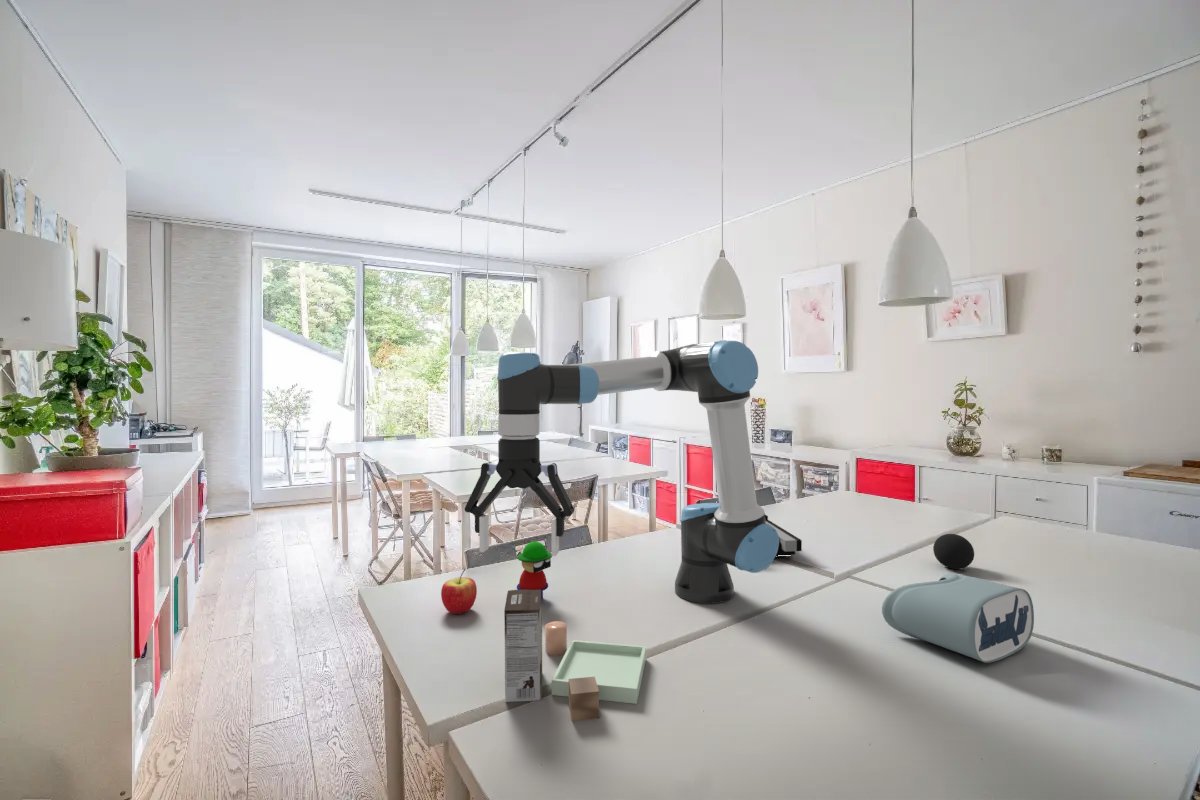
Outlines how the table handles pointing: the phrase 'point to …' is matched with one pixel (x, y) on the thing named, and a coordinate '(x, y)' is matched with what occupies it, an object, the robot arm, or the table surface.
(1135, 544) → the table surface
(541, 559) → the toy
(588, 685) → the walnut cube
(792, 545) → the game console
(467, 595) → the apple
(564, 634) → the peach rounded cylinder
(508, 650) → the coffee box
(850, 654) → the table surface
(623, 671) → the tray
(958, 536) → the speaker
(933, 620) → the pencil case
